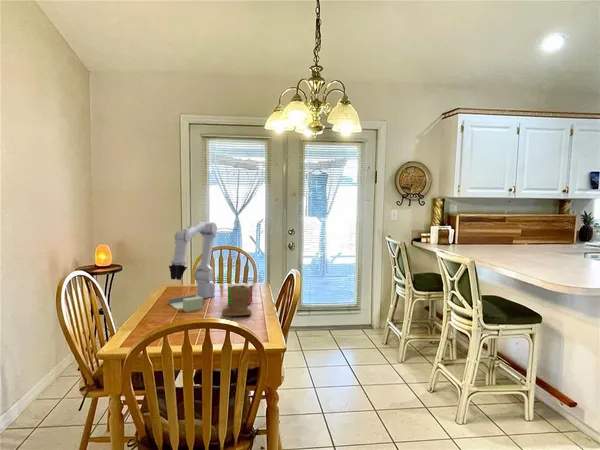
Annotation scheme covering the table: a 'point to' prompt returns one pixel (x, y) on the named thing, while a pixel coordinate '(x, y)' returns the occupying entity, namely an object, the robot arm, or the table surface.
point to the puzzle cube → (240, 285)
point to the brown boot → (238, 301)
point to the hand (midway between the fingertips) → (175, 279)
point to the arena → (179, 301)
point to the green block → (192, 304)
